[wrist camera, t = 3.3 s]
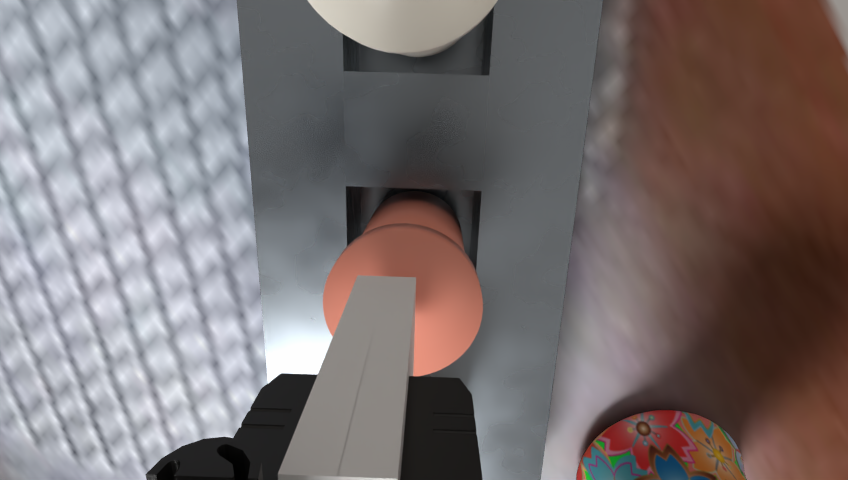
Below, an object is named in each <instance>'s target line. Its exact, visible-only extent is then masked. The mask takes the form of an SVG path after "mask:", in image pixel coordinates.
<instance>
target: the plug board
mask: <svg viewBox="0 0 848 480" xmlns="http://www.w3.org/2000/svg"><path fill="white" fill-rule="evenodd" d="M602 4H603V0H498V1H497V2H496V4H495V5H494V7H493V8H492V9H491V11H490V12H489V13H488V14H487V15H486V16H485V18H484V19H483V20H482V21H481V22H480V23H479V24H478V25H477V26H476V27H474V28H473V29H472V30H471V31H470V32H469V33H467V34H466V35H464V36H463V37H461V38H460V39H459V40H458V41H457V42H456V43H455V44H454V45H452V46H451V47H449V48H448V49H446V50H444V51H442V52H440V53H437V54H434V55H431V56H426V57H410V56H405V55H401V54H394V53H387V52H383V51H379V50H375V49H372V48H370V47H367V46H365V45H362V44H360V43H358V42H356V41H355V40H353V39H351V38H349V37H348V36H346V35H344V34H342V33H341V32H339V31H338V30H337V29H335V28H334V27H333V26H331V25H330V24H329V23H328V22H327V21H326V20H324V19H323V18H322V17H321V16H320V15H319V14H318V13H317V12H316V11H315V9H314V8H313V7H312V6H311V4H310V3H309V2H308V1H307V0H237V8H238V21H239V33H240V46H241V58H242V70H243V83H244V95H245V107H246V120H247V132H248V144H249V157H250V169H251V181H252V194H253V206H254V218H255V231H256V243H257V255H258V268H259V280H260V292H261V305H262V317H263V329H264V342H265V354H266V366H267V379H268V383H269V382H270V381H272V380H273V379H274V378H276V377H277V376H278V375H279V374H281V373H292V374H318V373H319V370H320V368H321V365H322V363H323V360H324V358H325V355H326V353H327V350H328V348H329V345H330V343H331V340H332V338H333V337H332V335H331V333H330V331H329V329H328V327H327V324H326V321H325V317H324V311H323V293H324V288H325V284H326V281H327V278H328V275H329V273H330V271H331V269H332V267H333V266H334V264H335V262H336V261H337V259H338V258H339V256H340V255H341V253H342V252H343V250H344V249H345V248H346V247H347V246H348V245H349V244H350V243H351V242H352V241H354V240H355V239H356V238H357V237H359V236H360V235H362V234H363V232H364V230H365V228H366V226H367V225H368V223H369V221H370V219H371V217H372V215H373V213H374V212H375V210H376V209H377V208H378V207H379V206H380V204H381V203H383V202H384V201H385V200H386V199H388V198H390V197H391V196H393V195H396V194H398V193H402V192H407V191H422V192H426V193H430V194H432V195H435V196H437V197H439V198H440V199H442V200H443V201H444V202H446V203H447V204H448V205H449V206H450V207H451V208H452V210H453V211H454V212H455V214H456V216H457V218H458V220H459V223H460V226H461V231H462V238H463V244H464V251H465V253H466V254H467V255H468V257H469V258H470V260H471V261H472V263H473V265H474V267H475V270H476V272H477V275H478V279H479V282H480V287H481V292H482V299H483V314H482V320H481V324H480V327H479V330H478V332H477V335H476V337H475V339H474V340H473V342H472V343H471V345H470V347H469V348H468V349H467V350H466V351H465V352H464V354H463V355H461V356H460V357H459V358H458V359H457V360H456V361H454V362H453V363H451V364H450V365H448V366H447V367H445V368H443V369H441V370H439V371H436V372H433V373H431V374H427V375H423V376H422V377H449V378H460V379H461V381H462V382H463V383H464V385H465V386H466V387H467V389H468V390H469V391H470V393H471V394H472V398H473V406H474V418H475V422H476V430H477V431H476V434H477V438H478V447H479V455H480V463H481V471H482V479H483V480H541V472H542V464H543V457H544V449H545V441H546V434H547V426H548V418H549V411H550V403H551V395H552V388H553V380H554V372H555V365H556V357H557V349H558V342H559V334H560V326H561V319H562V311H563V303H564V296H565V288H566V280H567V273H568V265H569V257H570V250H571V242H572V234H573V227H574V219H575V211H576V204H577V196H578V188H579V181H580V173H581V165H582V158H583V150H584V142H585V135H586V127H587V119H588V112H589V104H590V96H591V89H592V81H593V73H594V66H595V58H596V50H597V43H598V35H599V27H600V20H601V12H602Z"/></svg>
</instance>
